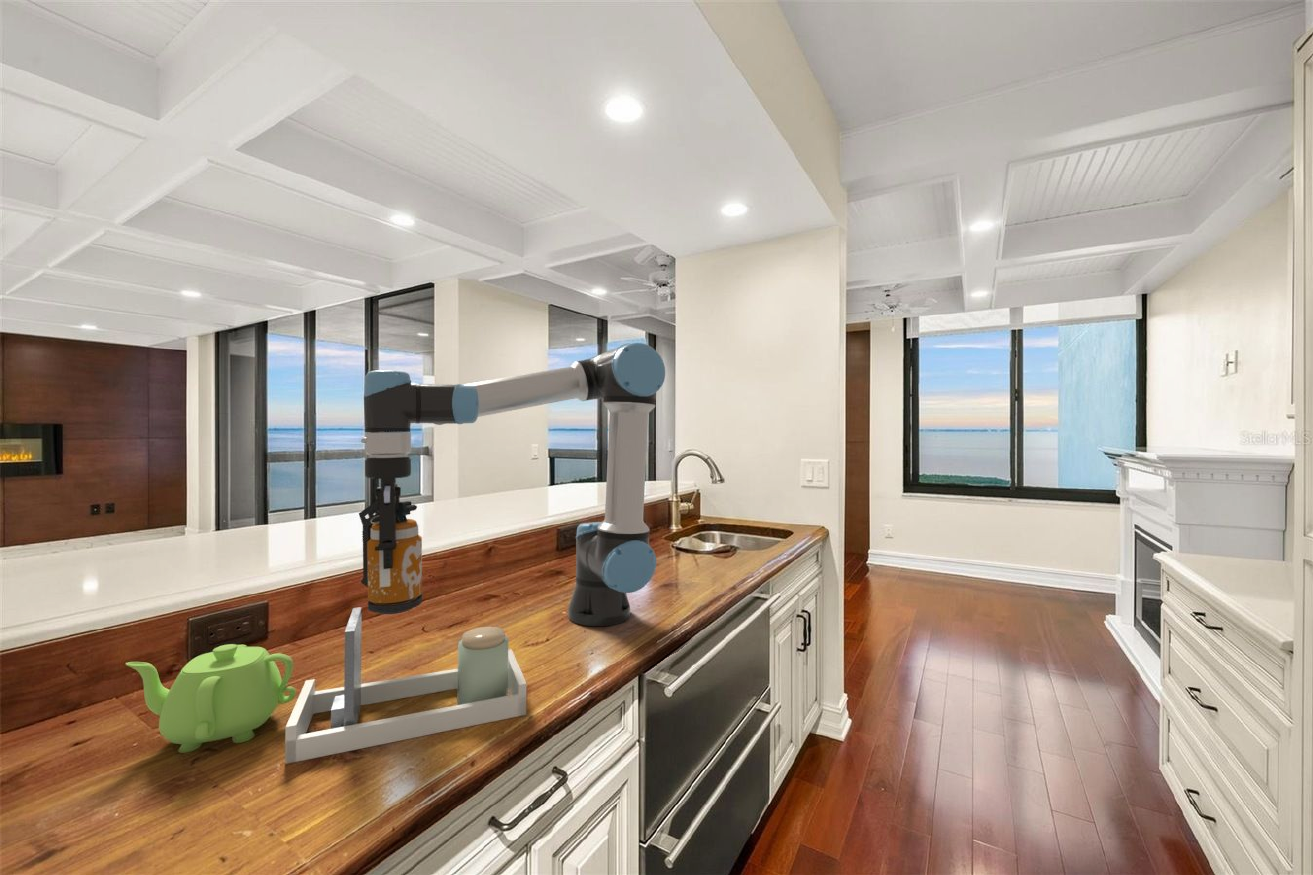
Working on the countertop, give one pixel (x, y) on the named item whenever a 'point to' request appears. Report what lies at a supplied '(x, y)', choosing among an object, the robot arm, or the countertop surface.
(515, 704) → the white rectangular frame
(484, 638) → the jar
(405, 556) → the canister
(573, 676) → the countertop surface
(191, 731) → the teapot
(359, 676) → the panel
